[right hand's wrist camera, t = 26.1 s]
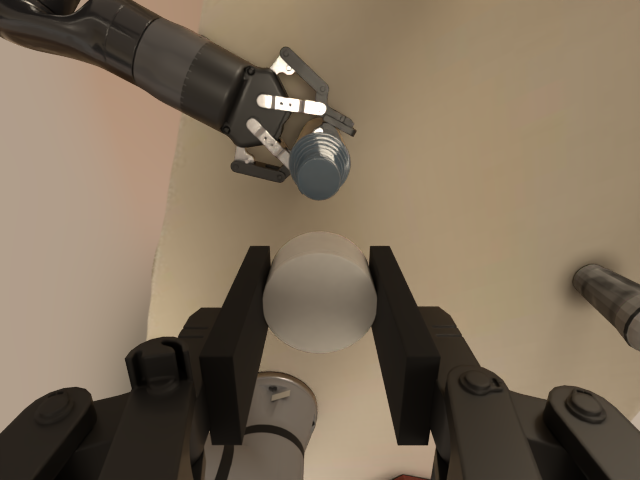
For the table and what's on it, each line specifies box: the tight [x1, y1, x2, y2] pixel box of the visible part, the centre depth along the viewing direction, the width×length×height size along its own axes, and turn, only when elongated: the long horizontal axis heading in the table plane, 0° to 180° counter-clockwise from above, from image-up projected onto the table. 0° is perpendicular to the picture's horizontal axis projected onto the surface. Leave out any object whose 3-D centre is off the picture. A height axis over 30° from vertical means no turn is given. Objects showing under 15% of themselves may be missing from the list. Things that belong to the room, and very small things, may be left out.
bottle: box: [289, 117, 351, 200], centre depth 35 cm, size 5×5×24 cm
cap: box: [263, 231, 377, 353], centre depth 14 cm, size 4×4×2 cm
